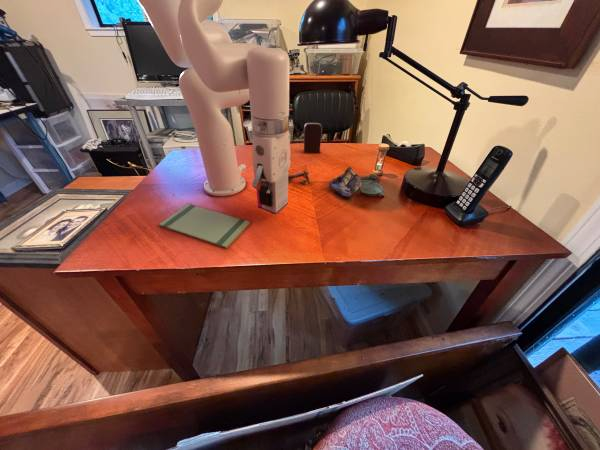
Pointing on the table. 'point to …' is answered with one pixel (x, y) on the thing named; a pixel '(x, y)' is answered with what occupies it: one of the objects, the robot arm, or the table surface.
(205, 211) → the towel
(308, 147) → the battery charger
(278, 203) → the supplement box
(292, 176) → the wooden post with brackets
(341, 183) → the snack package
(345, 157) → the table surface
